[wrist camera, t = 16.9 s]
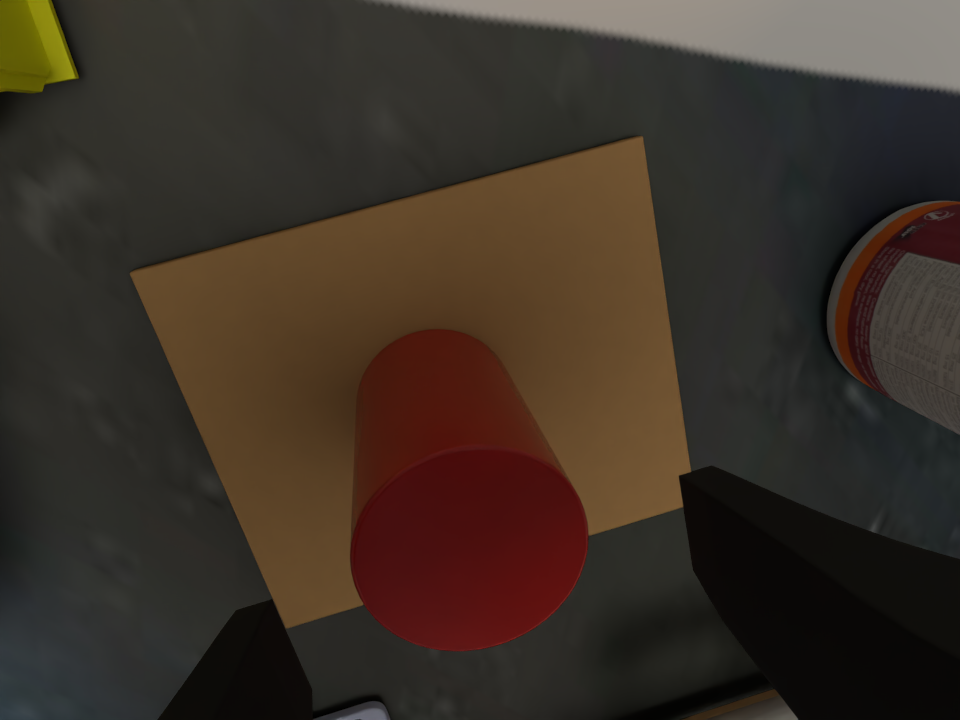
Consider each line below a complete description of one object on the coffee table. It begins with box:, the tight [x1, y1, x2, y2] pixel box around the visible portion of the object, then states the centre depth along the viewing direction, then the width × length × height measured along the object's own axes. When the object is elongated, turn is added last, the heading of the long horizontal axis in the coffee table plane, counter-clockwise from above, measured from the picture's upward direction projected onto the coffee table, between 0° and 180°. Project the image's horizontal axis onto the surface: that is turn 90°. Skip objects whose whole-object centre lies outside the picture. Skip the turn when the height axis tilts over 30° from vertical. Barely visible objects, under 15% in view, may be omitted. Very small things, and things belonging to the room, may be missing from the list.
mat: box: [130, 136, 691, 628], centre depth 20 cm, size 14×12×1 cm
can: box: [350, 329, 589, 651], centre depth 16 cm, size 5×5×8 cm
